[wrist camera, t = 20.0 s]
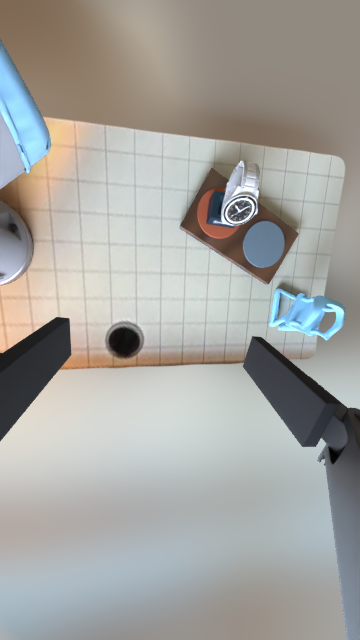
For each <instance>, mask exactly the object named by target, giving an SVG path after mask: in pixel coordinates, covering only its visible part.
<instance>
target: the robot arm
mask: <svg viewBox="0 0 360 640" xmlns="http://www.w3.org/2000/svg"><path fill="white" fill-rule="evenodd" d="M50 147H51V139H50V134H49V131H48V128H47V126H46V123H45V121H44V119H43V117H42V115H41V113H40V111H39V109H38V107H37V105H36V103H35V101H34V99H33V97H32V96H31V94H30V92H29V90H28V88H27V86H26V84H25V83H24V81H23V79H22V77H21V75H20V73H19V72H18V70H17V68H16V66H15V64H14V63H13V61H12V59H11V57H10V56H9V54H8V52H7V50H6V48H5V47H4V45H3V44H2V41H1V40H0V189H1V188H3V187H4V186H5V185H7V184H8V183H10V182H11V181H13V180H14V179H16V178H17V177H18V176H20V175H21V174H23V173H24V172H26V173H28V172H30V167H32V166H33V165H34V164H35V163H36V162H38V161H39V160H40V159H41V158H43V157H44V156H45V155H46V154H47V153H48V152H49V150H50ZM32 255H33V241H32V237H31V234H30V231H29V229H28V226H27V225H26V223H25V221H24V220H23V219H22V217H21V216H20V215H19V214H18V213H17V212H16V211H15V210H14V209H13V208H12V207H11V206H9V205H8V204H6V203H5V202H3V201H1V200H0V285H5V284H8V283H11V282H13V281H15V280H16V279H18V278H19V277H20V276H21V275H23V273H24V272H25V271H26V270H27V268H28V267H29V265H30V262H31V259H32ZM70 356H71V341H70V321H69V318H60V317H56V318H55V319H53V320H52V321H50V322H49V323H47V324H46V325H44V326H43V327H41V328H40V329H38V330H37V331H35V332H34V333H32V334H31V335H29V336H28V337H26V338H25V339H23V340H22V341H20V342H19V343H17V344H16V345H14V346H13V347H11V348H10V349H8V350H7V351H5V352H4V353H0V441H1V440H2V439H3V437H4V436H5V435H6V434H7V432H8V431H9V430H10V428H12V426H13V425H14V424H15V423H16V422H17V420H18V419H19V418H20V417H21V415H22V414H23V413H24V412H25V411H26V409H27V408H28V407H29V406H30V404H31V403H32V402H33V401H34V400H35V398H36V397H37V396H38V395H39V393H40V392H41V391H42V390H43V389H44V387H45V386H46V385H47V384H48V382H49V381H50V380H51V379H52V378H53V376H54V375H55V374H56V373H57V371H58V370H59V369H60V368H61V367H62V365H63V364H64V363H65V362H66V361H67V359H68V358H69V357H70ZM243 367H244V369H245V370H246V371H247V373H248V374H249V375H250V377H251V378H252V379H253V381H254V382H255V383H256V385H257V386H258V388H259V389H260V390H261V392H262V393H263V394H264V396H265V397H266V398H267V400H268V401H269V402H270V404H271V405H272V407H273V408H274V409H275V411H276V412H277V413H278V415H279V416H280V417H281V419H282V420H283V421H284V423H285V424H286V425H287V427H288V428H289V430H290V431H291V432H292V434H293V435H294V436H295V438H296V439H297V440H298V442H299V443H300V444H301V446H302V447H316V445H317V444H318V442H319V440H320V438H322V439H323V440H324V441H325V442H326V443H327V444H326V446H325V447H324V449H323V451H322V452H321V454H320V456H319V457H318V460H317V461H318V462H321V460H322V459H325V464H324V465H325V466H326V472H327V480H328V489H329V497H330V505H331V513H332V521H333V530H334V538H335V546H336V554H337V563H338V571H339V579H340V587H341V596H342V604H343V612H344V620H345V628H346V637H347V640H360V410H359V409H356V408H347V407H346V406H344V405H343V404H342V403H341V402H340V401H339V400H337V399H336V398H335V397H334V396H332V395H331V394H330V393H329V392H328V391H326V390H324V388H323V387H321V386H320V385H318V383H317V382H316V381H314V380H313V379H312V378H311V377H309V376H307V375H306V374H305V373H304V372H303V371H301V370H300V369H299V368H298V367H297V366H295V365H294V364H293V363H292V362H291V361H289V360H288V359H287V358H286V357H285V356H283V355H282V354H281V353H280V352H279V351H277V350H276V349H275V348H274V347H273V346H271V345H270V344H269V343H268V342H267V341H265V340H264V339H263V338H262V337H254V336H252V340H251V343H250V346H249V349H248V352H247V355H246V358H245V361H244V365H243Z"/></svg>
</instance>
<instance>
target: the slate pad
mask: <svg viewBox="0 0 360 640" xmlns="http://www.w3.org/2000/svg"><path fill="white" fill-rule="evenodd" d="M284 246H285V240H284V235H283V233H282V231H281V229H280V228H279V227H278V226H277V225H276V224H274V223H272V222H269V221H261V222H258V223H256V224H254V225H253V226H252V227H251V228H250V229H249V230H248V231H247V233H246V235H245V237H244V241H243V250H244V254H245V256H246V258H247V260H248V261H249V262H250V263H251V264H252V265H254V266H256V267H261V268H264V267H269V266H271V265H273V264H275V263H276V262H277V261H278V260H279V259H280V257H281V256H282V254H283V251H284Z"/></svg>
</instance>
